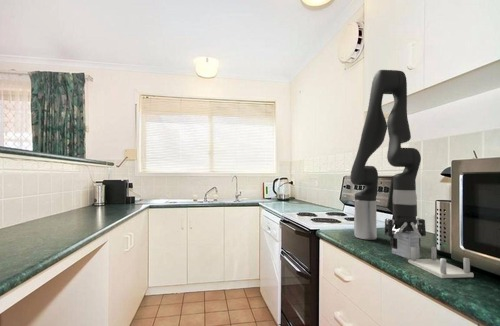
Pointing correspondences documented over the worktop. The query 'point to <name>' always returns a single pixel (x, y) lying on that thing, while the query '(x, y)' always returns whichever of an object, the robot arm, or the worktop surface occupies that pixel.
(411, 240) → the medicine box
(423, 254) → the worktop surface
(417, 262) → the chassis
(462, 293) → the worktop surface
